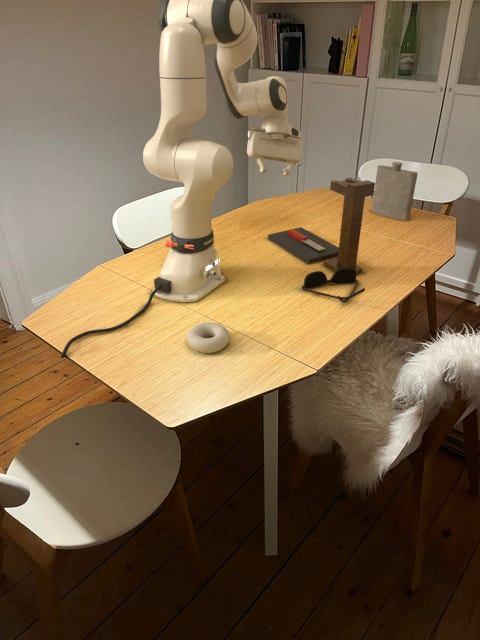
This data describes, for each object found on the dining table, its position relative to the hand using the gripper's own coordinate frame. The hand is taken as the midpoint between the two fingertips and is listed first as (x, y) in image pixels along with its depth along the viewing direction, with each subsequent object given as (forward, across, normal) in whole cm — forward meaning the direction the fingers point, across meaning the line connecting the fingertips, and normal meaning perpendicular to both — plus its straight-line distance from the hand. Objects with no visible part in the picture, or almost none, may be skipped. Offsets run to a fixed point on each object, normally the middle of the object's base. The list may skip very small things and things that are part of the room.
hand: (275, 173), depth 157 cm
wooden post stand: (+32, +8, -25) cm, 41 cm away
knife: (+23, +7, -8) cm, 25 cm away
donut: (+50, -43, -35) cm, 74 cm away
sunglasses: (+40, -3, -35) cm, 53 cm away
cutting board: (+24, +8, -6) cm, 26 cm away
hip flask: (+11, +52, -2) cm, 53 cm away
